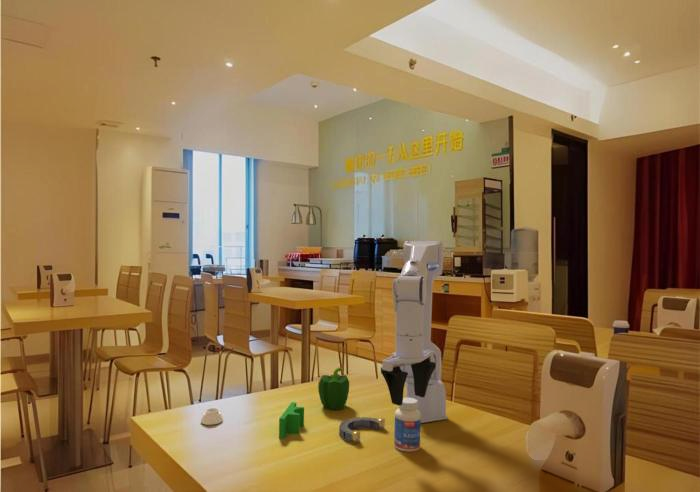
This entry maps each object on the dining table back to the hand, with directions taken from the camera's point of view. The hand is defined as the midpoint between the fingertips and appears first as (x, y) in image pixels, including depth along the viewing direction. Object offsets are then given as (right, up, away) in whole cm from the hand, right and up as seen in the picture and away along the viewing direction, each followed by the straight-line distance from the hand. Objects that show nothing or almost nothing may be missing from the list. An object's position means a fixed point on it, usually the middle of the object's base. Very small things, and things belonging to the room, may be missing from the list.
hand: (408, 400), depth 95 cm
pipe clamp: (-25, -11, +11) cm, 29 cm away
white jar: (-45, -11, +15) cm, 49 cm away
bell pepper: (-16, -11, +26) cm, 33 cm away
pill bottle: (0, -11, +2) cm, 11 cm away
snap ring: (-10, -10, +9) cm, 17 cm away
